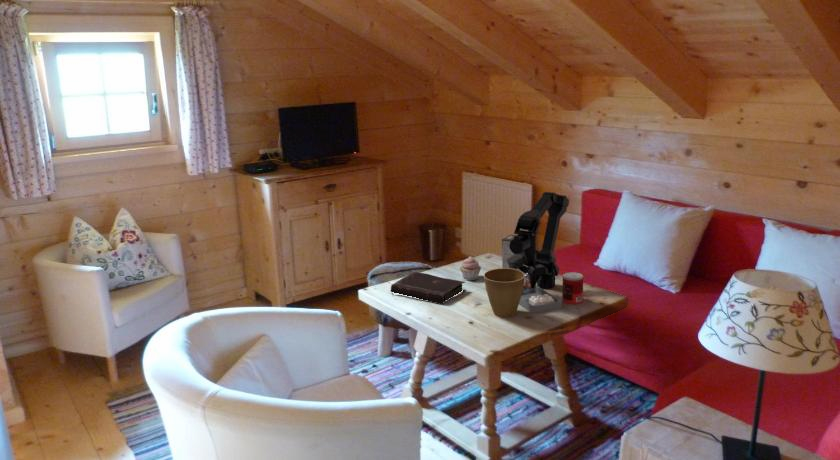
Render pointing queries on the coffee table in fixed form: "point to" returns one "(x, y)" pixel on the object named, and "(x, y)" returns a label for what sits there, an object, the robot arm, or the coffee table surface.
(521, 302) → the tote
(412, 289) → the diary
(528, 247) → the robot arm
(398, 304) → the coffee table surface
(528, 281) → the steel tin
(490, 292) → the plant pot
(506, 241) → the coffee box
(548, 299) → the egg carton
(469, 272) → the cupcake
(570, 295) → the canned food
